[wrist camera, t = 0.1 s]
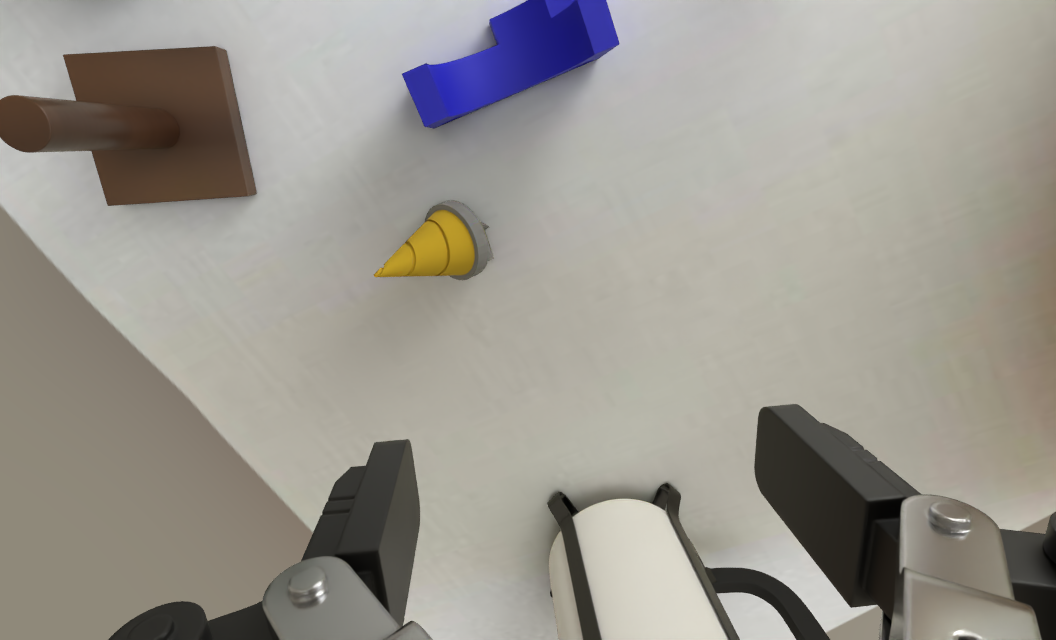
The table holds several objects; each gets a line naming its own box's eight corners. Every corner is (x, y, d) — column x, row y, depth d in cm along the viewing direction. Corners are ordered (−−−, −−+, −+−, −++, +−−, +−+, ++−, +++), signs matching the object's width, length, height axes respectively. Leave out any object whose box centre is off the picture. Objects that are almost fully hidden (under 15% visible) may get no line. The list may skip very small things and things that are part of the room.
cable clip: (575, -14, 36) (593, -43, 30) (598, 58, 37) (619, 43, 31) (404, 60, 36) (389, 46, 30) (433, 128, 38) (424, 126, 32)
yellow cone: (497, 275, 42) (389, 331, 35) (454, 222, 42) (341, 267, 36) (528, 231, 37) (412, 286, 31) (480, 173, 38) (357, 215, 32)
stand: (79, 58, 35) (-130, 16, 23) (226, 49, 35) (95, 4, 23) (121, 203, 38) (-46, 233, 26) (257, 194, 38) (154, 218, 26)
